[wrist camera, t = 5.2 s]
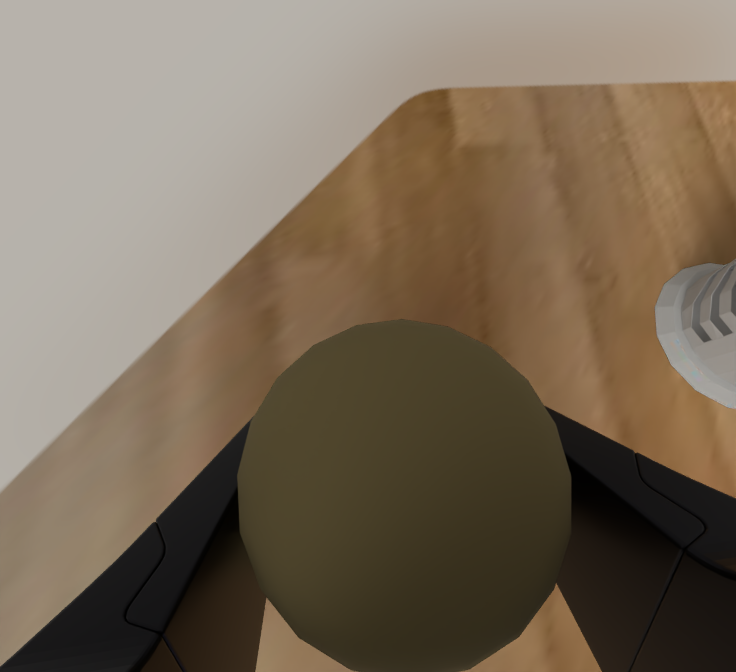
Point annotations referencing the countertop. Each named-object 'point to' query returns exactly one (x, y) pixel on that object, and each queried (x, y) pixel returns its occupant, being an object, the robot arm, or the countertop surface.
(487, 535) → the cork
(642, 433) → the countertop surface
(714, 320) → the french press
